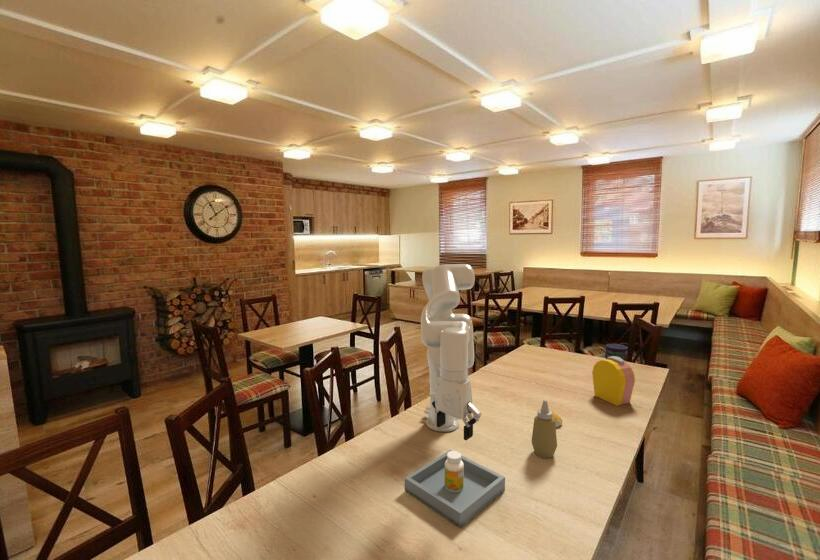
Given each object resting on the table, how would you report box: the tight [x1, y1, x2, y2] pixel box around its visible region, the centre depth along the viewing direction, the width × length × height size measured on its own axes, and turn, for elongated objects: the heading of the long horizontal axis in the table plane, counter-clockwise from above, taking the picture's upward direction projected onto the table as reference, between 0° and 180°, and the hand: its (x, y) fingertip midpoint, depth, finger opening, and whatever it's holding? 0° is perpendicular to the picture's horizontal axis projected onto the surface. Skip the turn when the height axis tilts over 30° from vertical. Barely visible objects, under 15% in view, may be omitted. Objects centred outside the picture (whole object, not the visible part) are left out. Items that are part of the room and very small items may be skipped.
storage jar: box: [604, 342, 628, 362], centre depth 195 cm, size 10×10×15 cm
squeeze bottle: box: [531, 399, 558, 459], centre depth 127 cm, size 8×8×18 cm
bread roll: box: [552, 411, 563, 428], centre depth 149 cm, size 8×9×4 cm
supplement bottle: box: [445, 450, 464, 492], centre depth 110 cm, size 5×5×10 cm
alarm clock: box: [592, 356, 636, 406], centre depth 167 cm, size 15×8×18 cm, turn 22°
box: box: [404, 449, 506, 529], centre depth 110 cm, size 20×20×4 cm
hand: (454, 431), depth 109 cm, fingers open, 9 cm apart
